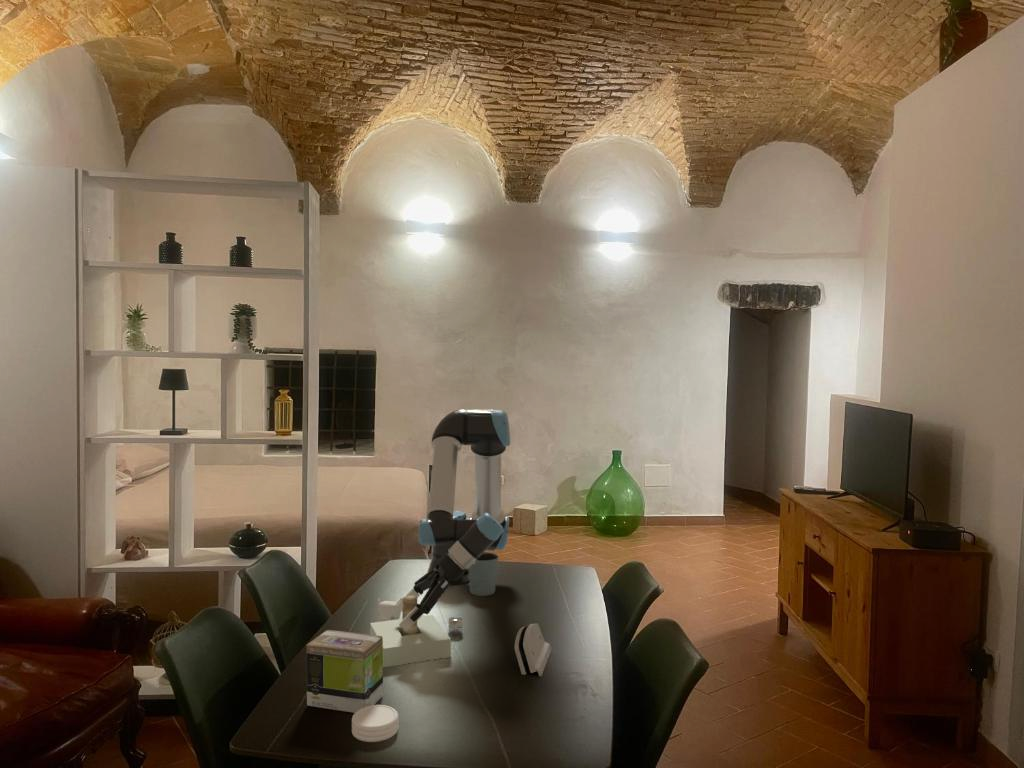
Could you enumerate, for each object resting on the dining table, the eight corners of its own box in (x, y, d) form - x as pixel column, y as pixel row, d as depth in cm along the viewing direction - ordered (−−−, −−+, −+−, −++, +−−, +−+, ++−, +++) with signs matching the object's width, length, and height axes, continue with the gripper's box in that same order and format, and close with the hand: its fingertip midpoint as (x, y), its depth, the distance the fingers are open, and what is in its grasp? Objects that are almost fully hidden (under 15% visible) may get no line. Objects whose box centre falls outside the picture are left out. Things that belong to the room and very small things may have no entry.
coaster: (401, 718, 165) (401, 703, 165) (395, 743, 155) (395, 727, 155) (356, 719, 165) (356, 703, 165) (347, 743, 155) (347, 727, 155)
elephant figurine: (370, 626, 217) (370, 602, 216) (383, 614, 226) (383, 591, 226) (394, 628, 215) (394, 604, 215) (407, 616, 224) (407, 593, 224)
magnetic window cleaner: (541, 676, 186) (528, 639, 186) (523, 681, 187) (511, 643, 187) (551, 649, 202) (540, 614, 202) (535, 653, 203) (524, 618, 203)
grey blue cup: (463, 594, 244) (463, 558, 243) (473, 584, 254) (474, 550, 253) (492, 598, 241) (492, 562, 240) (501, 588, 251) (502, 553, 250)
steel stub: (446, 631, 214) (446, 617, 214) (460, 629, 215) (460, 616, 215) (450, 636, 210) (450, 622, 210) (464, 634, 212) (464, 621, 211)
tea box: (384, 695, 175) (384, 635, 174) (364, 716, 166) (364, 652, 165) (327, 686, 179) (327, 627, 178) (305, 706, 170) (304, 644, 169)
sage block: (370, 640, 207) (370, 622, 206) (432, 631, 213) (432, 614, 213) (383, 667, 190) (383, 648, 190) (450, 657, 197) (450, 638, 196)
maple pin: (400, 646, 203) (401, 596, 202) (415, 644, 204) (415, 595, 203) (404, 652, 199) (404, 601, 198) (418, 650, 201) (418, 599, 200)
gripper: (472, 585, 191) (414, 645, 189) (459, 556, 216) (407, 610, 213) (452, 566, 190) (393, 627, 188) (441, 539, 214) (389, 593, 212)
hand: (400, 618), depth 201 cm, fingers open, 13 cm apart
